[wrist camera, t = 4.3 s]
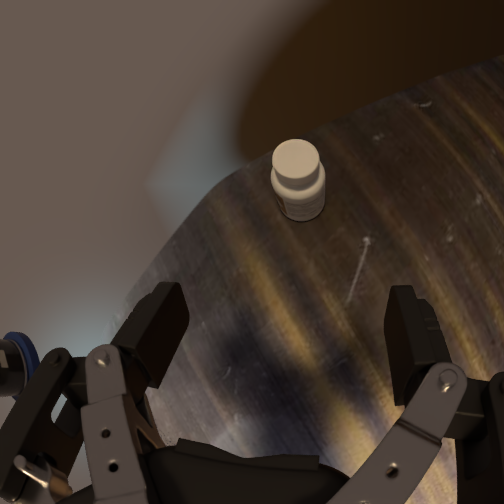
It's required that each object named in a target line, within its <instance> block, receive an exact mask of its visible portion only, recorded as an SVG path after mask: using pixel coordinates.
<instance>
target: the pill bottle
mask: <svg viewBox="0 0 504 504" xmlns="http://www.w3.org/2000/svg"><path fill="white" fill-rule="evenodd" d="M272 163H273V168H272V172H271V182H272V186H273V188H274V191H275V195H276V198H277V201H278V204H279V206H280V209H281V210H282V212H283V213H284V214H285V215H286V216H287V217H288V218H290V219H292V220H296V221H307V220H310V219H313V218H314V217H316V216H317V215H318V214H319V213H320V212H321V211H322V209H323V206H324V203H325V171H324V168H323V166H322V164H321V163H320V161H319V154H318V152H317V150H316V148H315V147H314V146H313V145H312V144H310V143H309V142H307V141H304V140H299V139H293V140H288V141H285V142H283V143H282V144H280V145H279V146H278V147H277V148H276V149H275V151H274V153H273V157H272Z"/></svg>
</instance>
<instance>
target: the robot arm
mask: <svg viewBox="0 0 504 504" xmlns="http://www.w3.org/2000/svg"><path fill="white" fill-rule="evenodd" d="M188 325H189V310H188V307H187V304H186V301H185V298H184V295H183V291H182V288H181V285H180V284H179V283H177V282H159V283H158V285H157V286H156V288H155V289H154V290H153V292H152V293H149V294H147V295H146V296H145V297H144V298H142V299H141V300H140V301H139V302H138V303H137V305H136V306H135V308H134V309H133V312H131V313H130V315H129V316H128V319H126V321H125V322H124V324H123V325H122V327H121V328H120V329H119V331H118V332H117V334H116V335H115V337H114V338H113V340H112V341H111V343H110V344H105V345H100V346H98V347H96V348H94V349H93V350H92V351H91V352H90V353H89V354H88V356H87V357H72V356H71V355H70V353H69V352H68V350H66V349H65V348H55V349H53V350H51V351H50V352H49V353H47V354H46V355H45V357H44V358H43V360H42V361H41V363H40V364H39V366H38V367H37V369H36V370H35V372H34V373H33V375H32V376H31V378H30V380H29V370H28V364H27V360H26V357H25V354H24V351H23V349H22V347H21V346H20V344H19V343H18V342H17V341H15V340H13V339H6V340H5V339H0V397H6V396H19V397H18V399H17V401H16V402H15V404H14V406H13V408H12V409H11V411H10V413H9V415H8V416H7V418H6V420H5V422H4V423H3V425H2V427H1V429H0V497H1V498H3V499H4V500H6V501H7V502H9V503H11V504H404V503H405V502H406V501H407V499H408V498H409V497H410V495H411V494H412V493H413V491H414V490H415V488H416V487H417V485H418V484H419V482H420V481H421V479H422V478H423V476H424V475H425V473H426V472H427V470H428V469H429V467H430V465H431V464H432V462H433V460H434V459H435V457H436V455H437V454H438V452H439V450H440V448H441V445H442V443H441V440H442V438H443V437H446V438H452V439H455V449H456V464H457V504H504V372H499V373H497V374H495V375H494V376H493V377H492V379H491V380H490V381H482V380H476V379H471V378H468V377H466V375H465V373H464V371H463V370H462V369H461V368H460V367H459V366H457V365H456V364H453V363H452V361H451V358H450V354H449V351H448V348H447V345H446V342H445V339H444V336H443V334H442V331H441V330H440V325H439V323H438V321H437V317H436V315H435V312H434V309H433V308H432V306H431V305H430V304H429V303H428V302H427V301H426V300H425V299H417V297H416V295H415V292H414V289H413V287H412V286H411V285H399V286H392V287H391V289H390V294H389V299H388V303H387V308H386V313H385V317H384V335H385V341H386V346H387V352H388V358H389V365H390V371H391V378H392V386H393V394H394V402H395V406H401V405H404V406H405V410H404V412H403V413H402V415H401V416H400V418H399V419H398V420H397V421H396V422H395V424H394V425H393V426H392V428H391V429H390V430H389V432H388V433H387V435H386V436H385V437H384V439H383V440H382V441H381V442H380V444H379V445H378V446H377V448H376V449H375V450H374V451H373V453H372V454H371V455H370V456H369V458H368V459H367V460H366V461H365V462H364V464H363V465H362V466H361V467H360V468H359V469H358V471H357V472H356V473H355V474H354V475H353V476H352V477H351V478H349V477H348V476H347V475H345V474H344V473H343V472H341V471H339V470H337V469H335V468H333V467H330V466H328V465H324V464H321V463H319V456H317V455H291V454H279V455H272V456H263V457H254V458H242V457H239V456H236V455H234V454H231V453H229V452H227V451H224V450H222V449H220V448H217V447H215V446H213V445H210V444H205V443H200V442H195V441H191V440H186V439H182V438H179V439H178V442H177V445H175V446H165V444H164V442H163V440H162V439H161V437H160V435H159V433H158V430H157V427H156V424H155V421H154V418H153V415H152V412H151V408H150V405H149V402H148V398H147V395H146V394H145V391H146V389H147V386H148V387H152V388H157V389H158V388H159V386H160V384H161V382H162V380H163V378H164V376H165V373H166V371H167V369H168V367H169V365H170V363H171V361H172V359H173V356H174V354H175V352H176V350H177V348H178V346H179V344H180V342H181V340H182V338H183V336H184V334H185V331H186V329H187V327H188ZM61 394H63V395H64V396H65V397H66V398H67V401H66V402H65V404H64V406H63V408H62V410H61V412H60V414H59V416H58V418H57V419H56V421H55V423H53V421H52V419H51V412H52V410H53V408H54V406H55V404H56V402H57V401H58V399H59V397H60V395H61ZM83 441H84V442H85V449H86V455H87V460H88V466H89V471H90V476H91V481H92V484H91V485H89V486H87V487H85V488H83V489H81V490H79V491H77V492H75V493H73V490H72V488H71V487H70V486H69V484H68V476H69V474H70V472H71V469H72V467H73V464H74V462H75V460H76V457H77V455H78V453H79V450H80V448H81V446H82V444H83ZM72 493H73V494H72Z"/></svg>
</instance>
